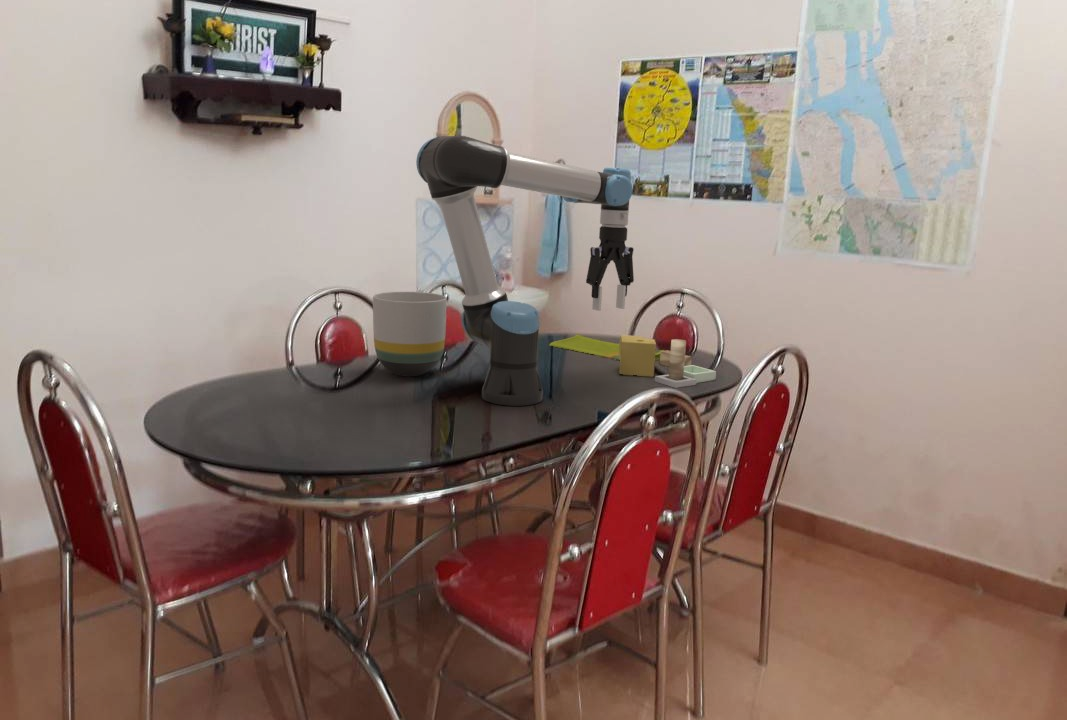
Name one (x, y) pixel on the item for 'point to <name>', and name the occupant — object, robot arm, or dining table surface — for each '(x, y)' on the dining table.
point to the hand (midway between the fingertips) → (608, 308)
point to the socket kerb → (679, 383)
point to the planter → (409, 331)
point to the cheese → (637, 355)
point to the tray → (699, 373)
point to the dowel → (677, 359)
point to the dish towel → (593, 347)
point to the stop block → (666, 359)
